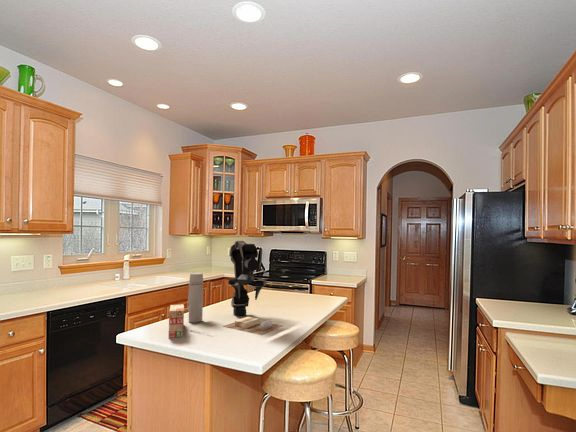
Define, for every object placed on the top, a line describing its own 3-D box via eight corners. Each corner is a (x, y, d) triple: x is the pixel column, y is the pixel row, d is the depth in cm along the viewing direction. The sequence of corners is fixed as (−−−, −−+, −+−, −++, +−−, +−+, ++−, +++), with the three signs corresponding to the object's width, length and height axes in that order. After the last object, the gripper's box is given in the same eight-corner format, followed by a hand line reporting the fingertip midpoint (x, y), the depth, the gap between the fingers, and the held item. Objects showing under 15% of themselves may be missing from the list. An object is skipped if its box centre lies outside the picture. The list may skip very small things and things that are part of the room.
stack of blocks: (170, 325, 171) (171, 301, 171) (183, 324, 173) (184, 300, 173) (168, 338, 150) (169, 310, 151) (183, 337, 152) (183, 309, 153)
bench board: (222, 329, 164) (222, 326, 164) (246, 321, 179) (246, 318, 179) (261, 338, 151) (261, 334, 151) (283, 328, 166) (283, 325, 166)
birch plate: (234, 326, 165) (234, 320, 165) (247, 321, 174) (247, 316, 174) (245, 328, 161) (245, 323, 162) (258, 323, 170) (258, 318, 170)
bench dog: (260, 330, 159) (260, 322, 159) (269, 326, 164) (269, 319, 165) (263, 330, 158) (263, 323, 158) (272, 327, 164) (272, 319, 164)
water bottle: (205, 320, 181) (206, 273, 182) (196, 323, 174) (197, 274, 175) (192, 318, 185) (193, 272, 186) (182, 321, 178) (183, 273, 179)
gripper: (224, 269, 167) (223, 301, 167) (260, 271, 163) (259, 303, 163) (233, 266, 178) (232, 296, 178) (267, 268, 174) (266, 299, 173)
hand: (247, 299), depth 173 cm, fingers open, 9 cm apart
